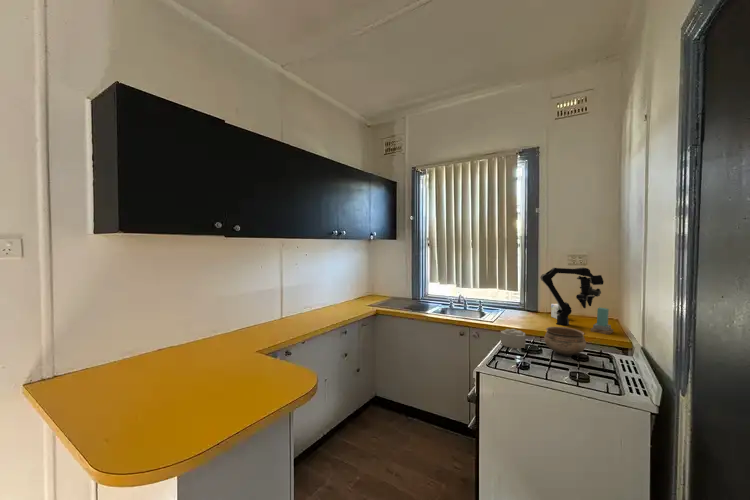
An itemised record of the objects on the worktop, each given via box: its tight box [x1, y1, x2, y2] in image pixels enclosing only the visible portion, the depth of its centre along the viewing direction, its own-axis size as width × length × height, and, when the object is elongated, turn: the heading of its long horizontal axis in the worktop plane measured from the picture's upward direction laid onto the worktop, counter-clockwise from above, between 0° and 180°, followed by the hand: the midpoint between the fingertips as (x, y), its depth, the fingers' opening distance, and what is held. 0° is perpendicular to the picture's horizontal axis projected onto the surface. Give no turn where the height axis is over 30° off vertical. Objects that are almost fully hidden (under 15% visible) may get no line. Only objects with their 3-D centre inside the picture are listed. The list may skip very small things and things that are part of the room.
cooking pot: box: [543, 326, 587, 357], centre depth 165 cm, size 25×19×12 cm
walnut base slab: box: [590, 327, 614, 335], centre depth 206 cm, size 10×10×2 cm
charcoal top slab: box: [592, 322, 612, 331], centre depth 207 cm, size 8×8×2 cm
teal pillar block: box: [596, 307, 610, 326], centre depth 206 cm, size 5×5×11 cm
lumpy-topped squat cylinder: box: [500, 328, 526, 350], centre depth 180 cm, size 10×13×9 cm
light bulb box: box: [550, 303, 560, 320], centre depth 244 cm, size 11×7×11 cm, turn 179°
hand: (587, 307), depth 220 cm, fingers open, 9 cm apart
